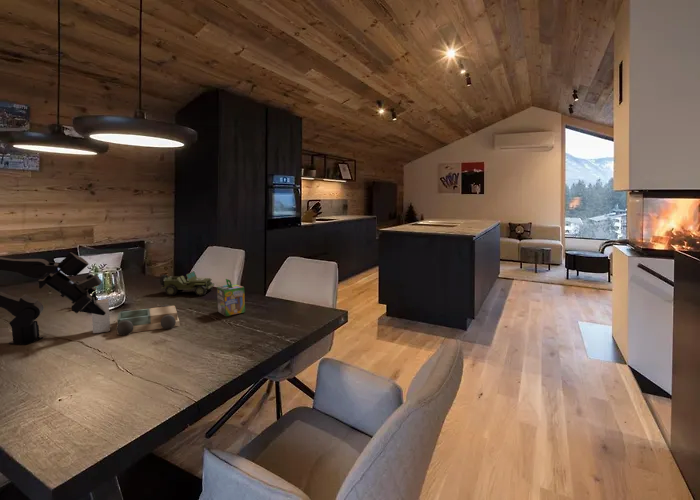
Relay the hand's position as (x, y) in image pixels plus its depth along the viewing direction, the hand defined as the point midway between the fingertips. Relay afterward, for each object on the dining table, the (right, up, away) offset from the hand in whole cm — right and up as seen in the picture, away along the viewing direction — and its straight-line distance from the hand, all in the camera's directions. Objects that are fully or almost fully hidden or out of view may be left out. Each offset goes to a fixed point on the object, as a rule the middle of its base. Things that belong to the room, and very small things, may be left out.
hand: (105, 312), depth 137 cm
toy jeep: (+5, 0, +58) cm, 58 cm away
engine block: (-1, -7, 0) cm, 7 cm away
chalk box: (+38, -4, +26) cm, 46 cm away
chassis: (+12, -6, +8) cm, 16 cm away
